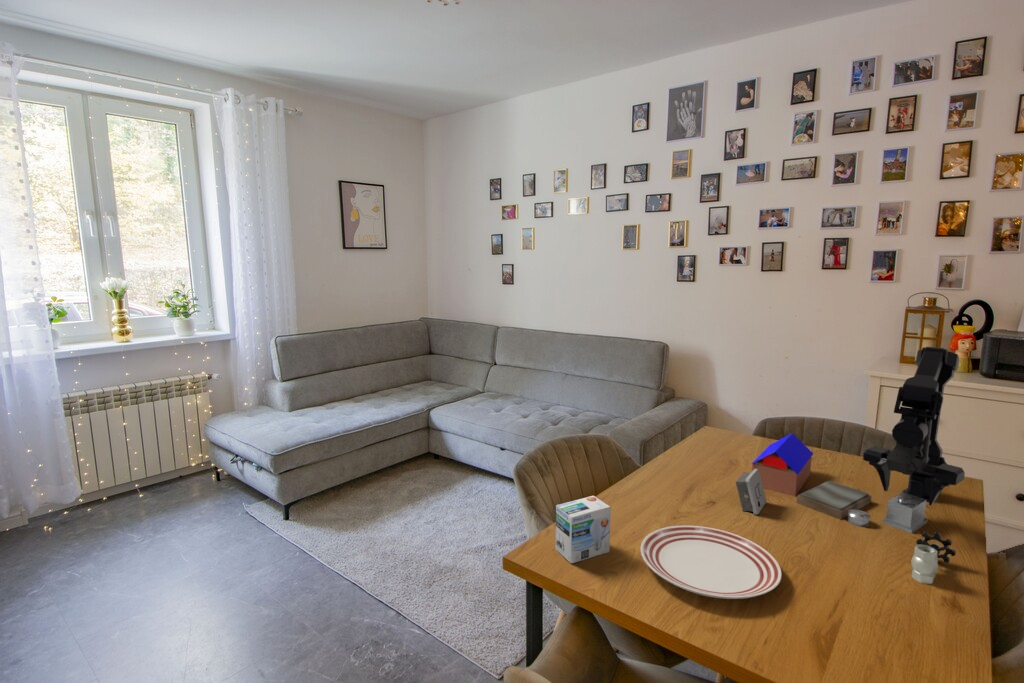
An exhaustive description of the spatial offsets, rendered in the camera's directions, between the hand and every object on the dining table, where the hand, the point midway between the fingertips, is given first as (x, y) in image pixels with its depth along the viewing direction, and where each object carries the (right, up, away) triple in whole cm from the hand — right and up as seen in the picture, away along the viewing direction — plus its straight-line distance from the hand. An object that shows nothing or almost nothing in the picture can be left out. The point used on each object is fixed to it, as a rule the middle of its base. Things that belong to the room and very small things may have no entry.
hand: (907, 497), depth 126 cm
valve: (-10, -10, -19) cm, 23 cm away
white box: (-80, -9, -10) cm, 81 cm away
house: (-17, -3, +27) cm, 32 cm away
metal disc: (-11, -7, +1) cm, 13 cm away
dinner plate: (-55, -10, -17) cm, 58 cm away
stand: (-11, -5, +12) cm, 17 cm away
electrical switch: (-34, -6, +10) cm, 35 cm away
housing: (0, -7, +1) cm, 7 cm away
